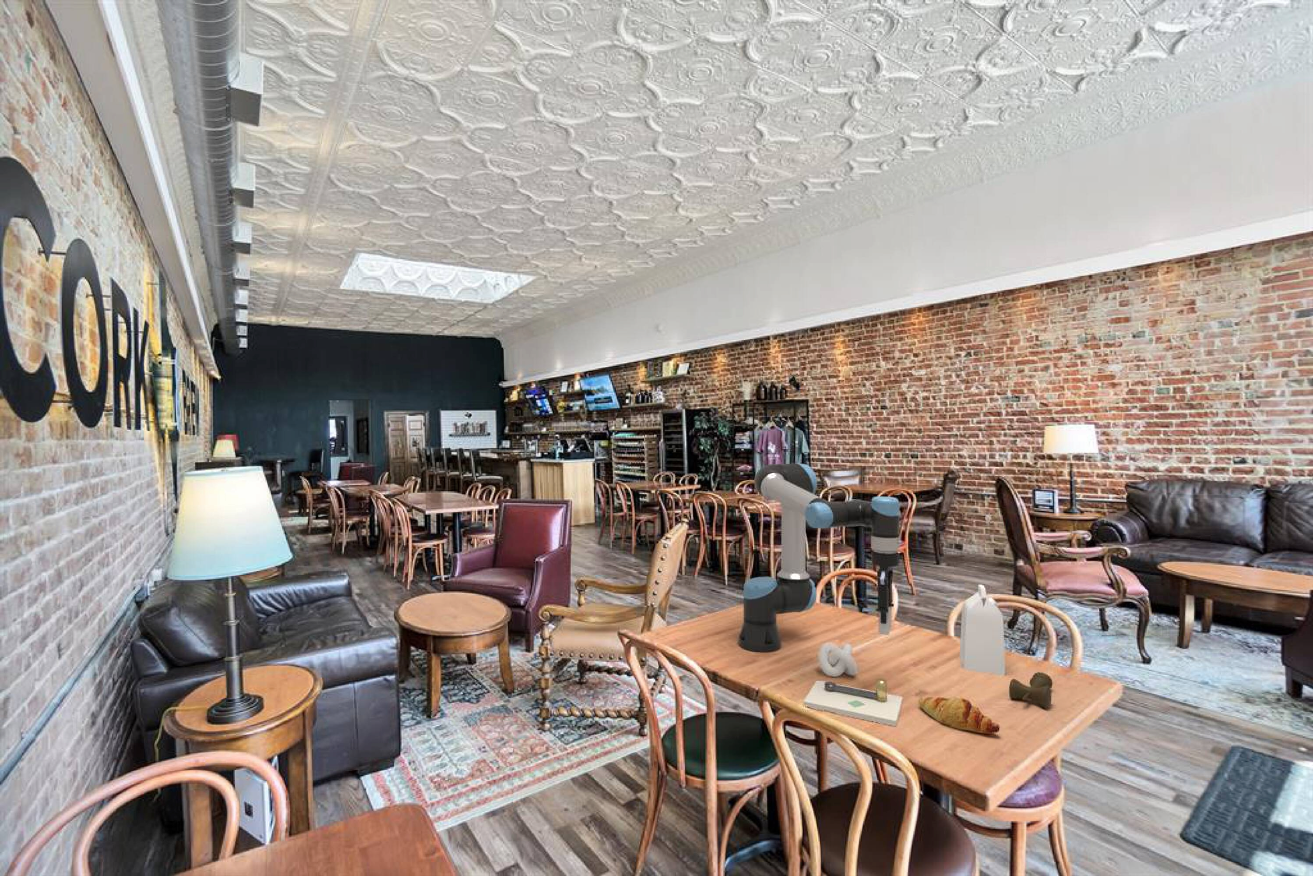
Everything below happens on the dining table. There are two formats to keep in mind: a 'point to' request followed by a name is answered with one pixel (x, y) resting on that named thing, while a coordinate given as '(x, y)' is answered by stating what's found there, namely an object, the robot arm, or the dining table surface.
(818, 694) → the board
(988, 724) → the croissant
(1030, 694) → the kendama
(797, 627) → the dining table surface
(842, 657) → the white knot sculpture
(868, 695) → the grey crank handle
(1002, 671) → the milk
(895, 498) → the robot arm
